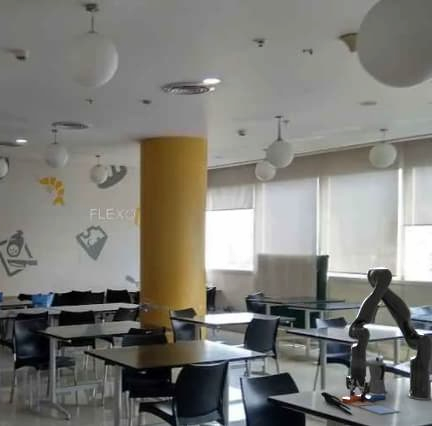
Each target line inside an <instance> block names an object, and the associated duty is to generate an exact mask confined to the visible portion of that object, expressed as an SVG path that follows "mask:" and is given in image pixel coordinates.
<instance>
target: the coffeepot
mask: <svg viewBox="0 0 432 426" xmlns="http://www.w3.org/2000/svg"><path fill="white" fill-rule="evenodd" d="M379 360H380V358H379V357H375V360H372V361H371V360H370V361H368V371H369V376H370V378H369V382H370V383H371V385H370V392H369V393H373V394H386V385H385V374H386V368H387V363H386V362H383V361H379Z"/></svg>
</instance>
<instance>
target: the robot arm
mask: <svg viewBox="0 0 432 426" xmlns="http://www.w3.org/2000/svg"><path fill="white" fill-rule="evenodd" d="M366 278H367V282H368V284H369V285H370V287H371V288H372V289H373V290H372V292H371V293H370V294H369V295H368V296H367V297H366V298H365V300H364V301H363V302H362V304H361V306H360V308H359V311H358V313H357V316H356V317H355V318H354V320H353V321H352V322H351V324H350V325H349V327H348V330H347V334H348V335H347V336H348V337H349V338H350V339H351V340H355V341H357V343H356V344H353V345H352V346H351V347H350V361H349V365H350V366H349V375H350V376H346V377H345V383H346V385H345V386H346V389H347V390H349V397H350V396H356V391H355V390H356V388H358V390H359V392H360V395H361V402H365V400H366V396H367V395H369V394H370V393H371V392H370V385H371V383H370V381H367V380H366V377H367V348H368V345H369V342H370V338H371V332H370V329H369V328H367V327H366V325H370V324H371V323H372V321H373V320H374V316H375V314H376V311H377V308H378V306H379V305H380V302H382V303H383V304H384V307H386V310H387V311H388V313H389V314H390V316H391V318H392V319H393V320H394V322H395V323H396V325H397V328H398V329H399V330H400V332H401V334H402V337H403V338H404V340H405V342H406V344H407V346H408V347H409V349H411V350H413V351H415V352H416V355H415V356H413V357H411V358H410V359H409V389H408V393H409V394H408V395H409V398H410V399H411V398H412V399H415V400H419V401H430V400H431V398H432V381H431V362H432V337H431V336H429V335H428V334H424V333H419V332H418V331H417V330H416V329H415V327H414V326H413V324H412V312H411V310H410V308H409V306H408V305H407V303H406V302H405V300H404V299H403V298H402V297H400V296H399V295H398V294H396V293H395V292H394V291H393V290H392V289H391V288H390V285H391V283H392V280H393V273H392V271H391V270H390V269H389V268H385V267H373V268H369V270H367V272H366Z"/></svg>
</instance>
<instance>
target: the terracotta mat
mask: <svg viewBox="0 0 432 426" xmlns="http://www.w3.org/2000/svg"><path fill="white" fill-rule="evenodd" d="M338 398H339V399H340V401H341V402H342V397H338ZM335 400H337V399H335ZM337 401H338V400H337ZM347 404H348V405H350V406H354V407H362V406H372V405H376V404H375V403H374V402H367V401H365V402H361V401H353V403H347Z"/></svg>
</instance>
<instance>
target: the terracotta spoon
mask: <svg viewBox="0 0 432 426" xmlns="http://www.w3.org/2000/svg"><path fill="white" fill-rule="evenodd" d="M341 398H342V401H341V403H346V404H348V403H353V401H361V394H359V395H355V396H350V395H349V396H342V397H341Z"/></svg>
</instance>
